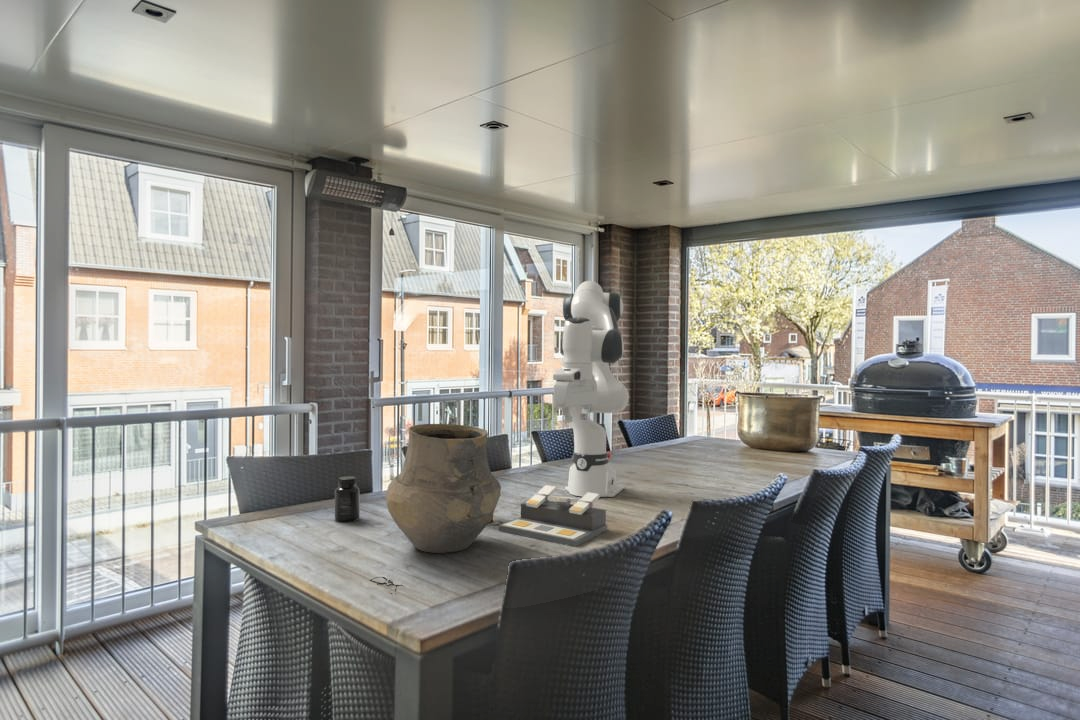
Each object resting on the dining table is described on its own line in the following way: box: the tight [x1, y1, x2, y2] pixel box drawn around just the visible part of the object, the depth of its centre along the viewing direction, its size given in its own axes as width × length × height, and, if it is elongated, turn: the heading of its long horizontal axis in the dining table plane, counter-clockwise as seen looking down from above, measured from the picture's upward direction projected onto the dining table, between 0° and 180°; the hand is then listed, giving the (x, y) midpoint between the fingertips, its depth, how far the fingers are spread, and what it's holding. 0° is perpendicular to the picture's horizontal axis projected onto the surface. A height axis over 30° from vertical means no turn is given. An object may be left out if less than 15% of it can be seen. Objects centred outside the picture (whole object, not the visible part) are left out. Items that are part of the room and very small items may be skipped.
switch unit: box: [498, 500, 608, 548], centre depth 175 cm, size 18×24×6 cm
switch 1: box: [525, 484, 557, 508], centre depth 182 cm, size 11×4×2 cm, turn 148°
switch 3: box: [569, 492, 600, 515], centre depth 175 cm, size 11×4×2 cm, turn 148°
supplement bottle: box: [334, 475, 361, 523], centre depth 182 cm, size 7×7×12 cm
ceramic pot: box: [385, 423, 502, 554], centre depth 159 cm, size 28×28×30 cm
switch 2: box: [548, 495, 579, 507], centre depth 179 cm, size 11×4×2 cm, turn 148°
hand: (576, 421), depth 184 cm, fingers open, 8 cm apart
